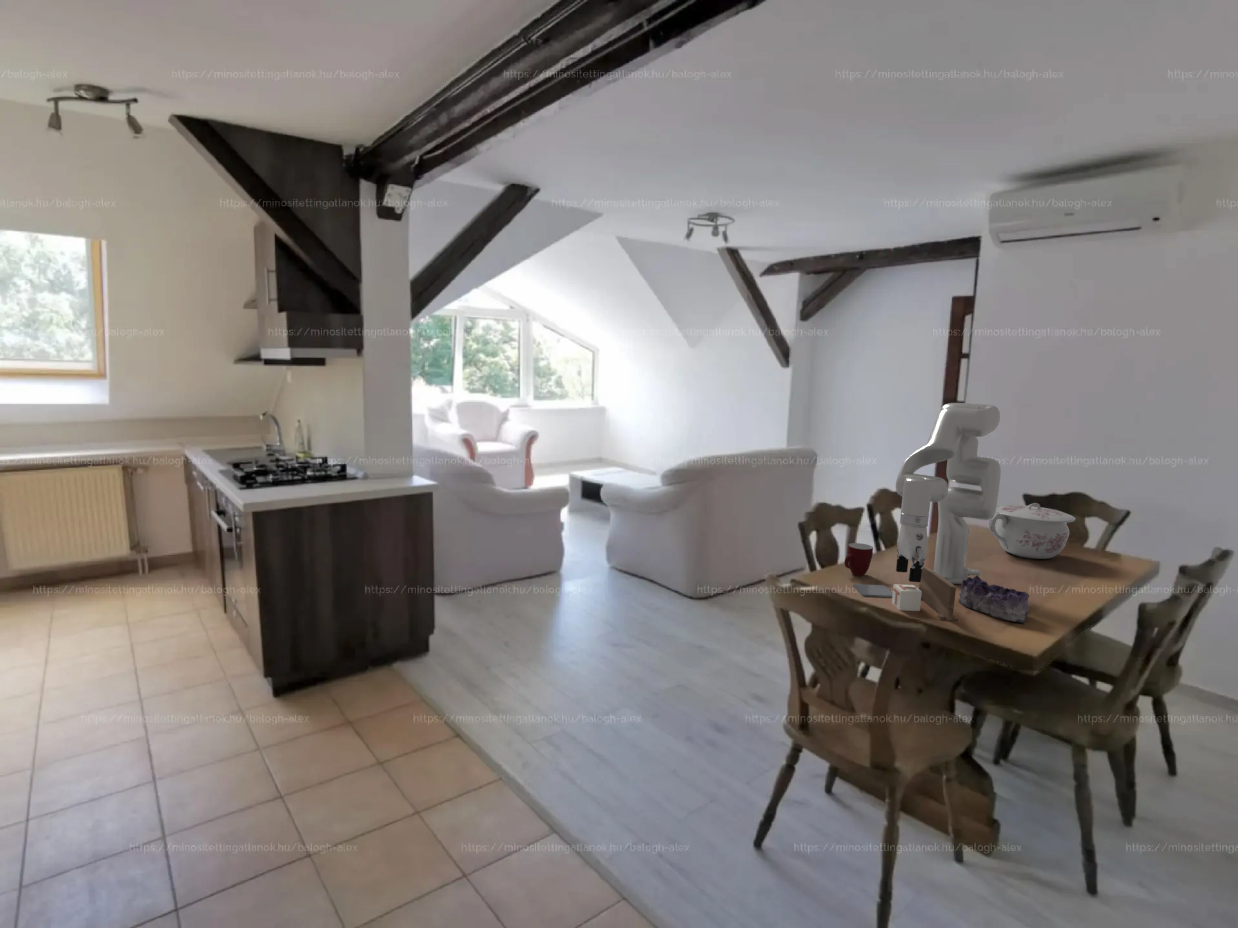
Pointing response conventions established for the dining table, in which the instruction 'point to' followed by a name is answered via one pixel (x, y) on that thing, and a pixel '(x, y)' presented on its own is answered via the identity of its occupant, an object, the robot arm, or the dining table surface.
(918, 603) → the cube
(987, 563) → the dining table surface
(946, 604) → the screen
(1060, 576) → the dining table surface
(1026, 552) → the chamber pot
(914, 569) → the robot arm
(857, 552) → the mug
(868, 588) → the tile
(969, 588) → the geode
